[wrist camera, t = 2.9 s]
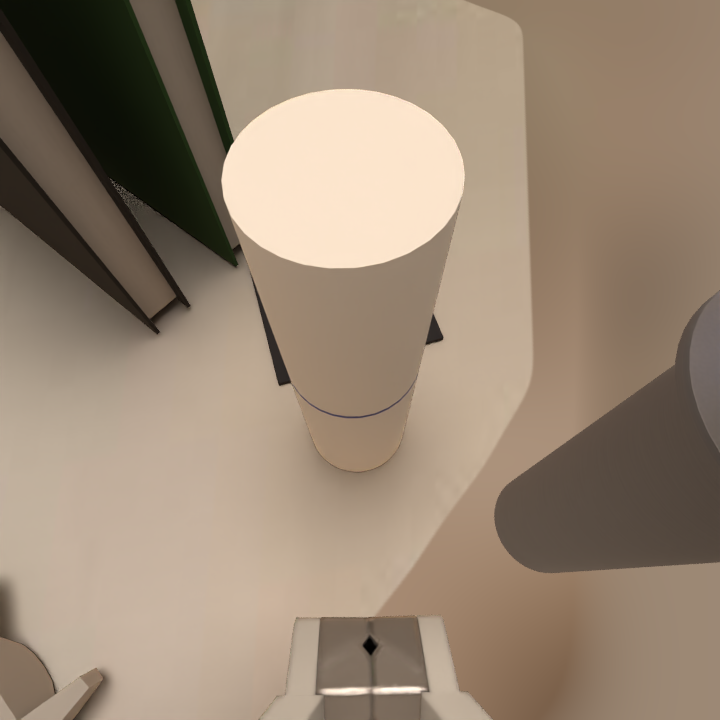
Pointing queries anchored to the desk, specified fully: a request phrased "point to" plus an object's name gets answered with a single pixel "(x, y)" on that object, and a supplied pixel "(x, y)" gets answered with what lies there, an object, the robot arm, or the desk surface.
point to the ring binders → (112, 136)
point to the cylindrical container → (347, 254)
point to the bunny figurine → (38, 687)
